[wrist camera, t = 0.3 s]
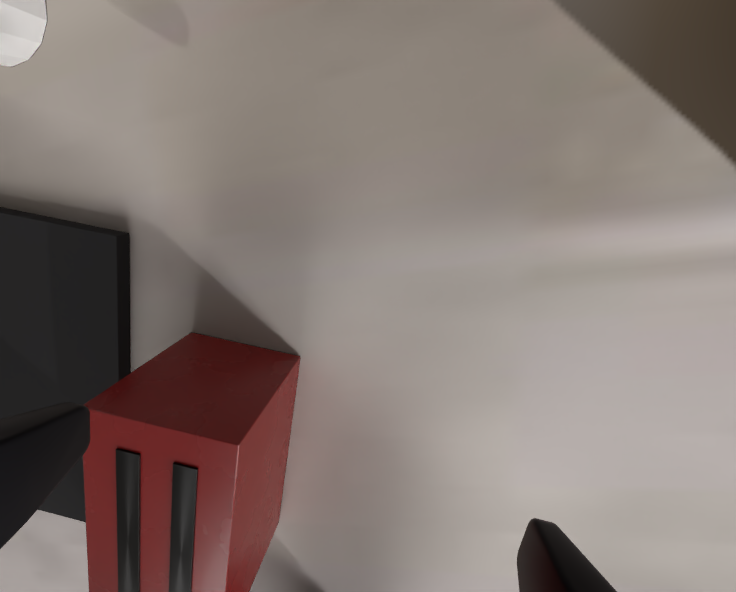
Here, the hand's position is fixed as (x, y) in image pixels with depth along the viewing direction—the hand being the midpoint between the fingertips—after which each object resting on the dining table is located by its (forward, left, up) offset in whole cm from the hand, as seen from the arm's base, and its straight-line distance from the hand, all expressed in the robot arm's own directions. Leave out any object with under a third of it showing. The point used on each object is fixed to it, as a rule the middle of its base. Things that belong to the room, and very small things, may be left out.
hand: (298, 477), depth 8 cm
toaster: (-11, +7, -14) cm, 19 cm away
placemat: (-10, +21, -14) cm, 27 cm away
